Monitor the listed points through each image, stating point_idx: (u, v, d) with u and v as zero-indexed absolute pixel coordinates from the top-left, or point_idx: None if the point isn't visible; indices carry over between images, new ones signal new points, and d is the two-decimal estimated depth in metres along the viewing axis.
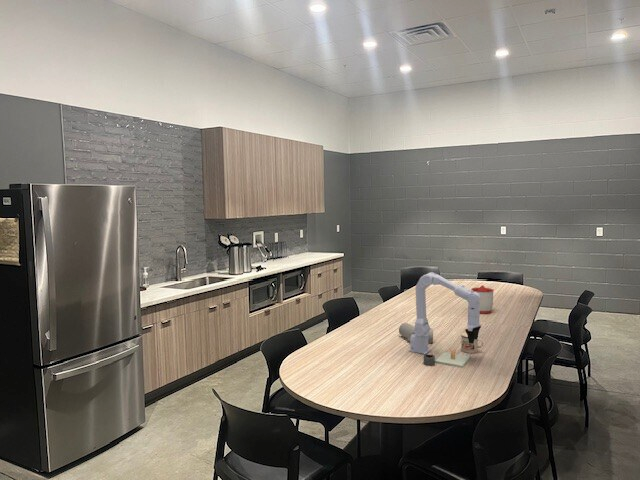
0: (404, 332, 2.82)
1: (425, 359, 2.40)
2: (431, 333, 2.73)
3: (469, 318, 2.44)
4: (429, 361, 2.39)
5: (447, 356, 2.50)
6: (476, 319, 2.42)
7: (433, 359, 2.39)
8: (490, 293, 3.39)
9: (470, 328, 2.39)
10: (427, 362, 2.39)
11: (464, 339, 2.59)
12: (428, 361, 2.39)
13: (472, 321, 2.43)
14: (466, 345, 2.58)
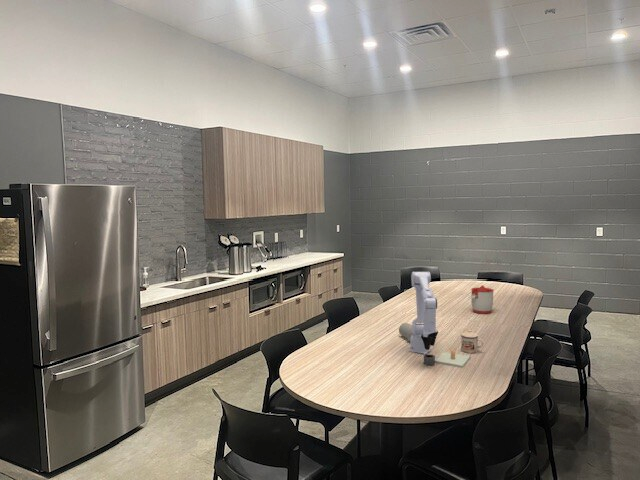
0: (404, 332, 2.82)
1: (425, 359, 2.40)
2: None
3: (425, 324, 2.39)
4: (429, 361, 2.39)
5: (447, 356, 2.50)
6: (432, 325, 2.37)
7: (433, 359, 2.39)
8: (490, 293, 3.39)
9: (425, 334, 2.34)
10: (427, 362, 2.39)
11: (464, 339, 2.59)
12: (428, 361, 2.39)
13: (428, 327, 2.38)
14: (466, 345, 2.58)
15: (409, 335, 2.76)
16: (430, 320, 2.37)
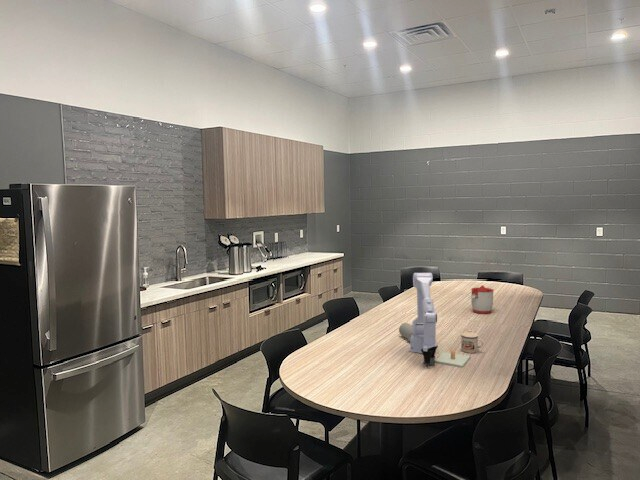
0: (404, 332, 2.82)
1: None
2: None
3: (425, 338, 2.39)
4: None
5: (447, 356, 2.50)
6: (432, 339, 2.38)
7: (433, 359, 2.39)
8: (490, 293, 3.39)
9: (425, 348, 2.35)
10: None
11: (464, 339, 2.59)
12: None
13: (427, 341, 2.38)
14: (466, 345, 2.58)
15: (409, 335, 2.76)
16: (430, 334, 2.38)
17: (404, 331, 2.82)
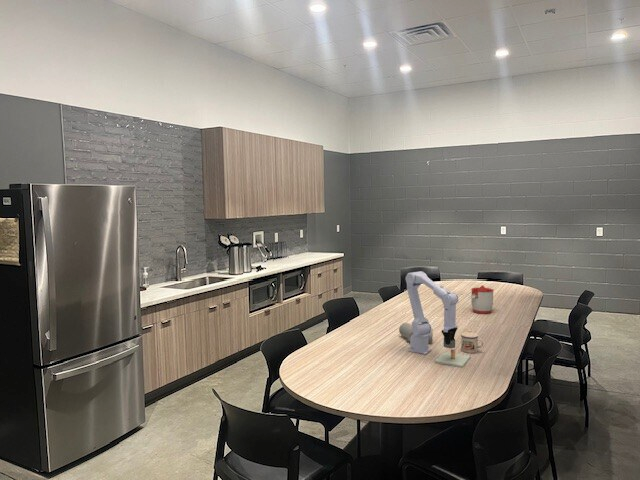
0: (404, 332, 2.82)
1: None
2: (430, 333, 2.73)
3: (445, 319, 2.43)
4: None
5: (447, 356, 2.50)
6: (452, 320, 2.41)
7: (453, 341, 2.43)
8: (490, 293, 3.39)
9: (445, 329, 2.38)
10: (447, 344, 2.43)
11: (464, 339, 2.59)
12: None
13: (448, 322, 2.41)
14: (466, 345, 2.58)
15: (409, 335, 2.76)
16: (453, 315, 2.41)
17: (404, 331, 2.82)
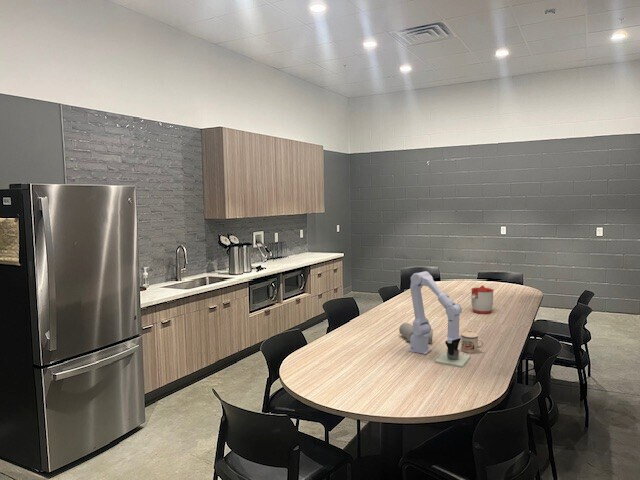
0: (404, 332, 2.82)
1: None
2: (430, 333, 2.73)
3: (449, 330, 2.44)
4: None
5: None
6: (456, 331, 2.42)
7: (457, 352, 2.44)
8: (490, 293, 3.39)
9: (449, 340, 2.39)
10: (451, 355, 2.44)
11: (464, 339, 2.59)
12: None
13: (451, 333, 2.43)
14: (466, 345, 2.58)
15: (408, 335, 2.76)
16: (457, 326, 2.43)
17: (404, 331, 2.82)
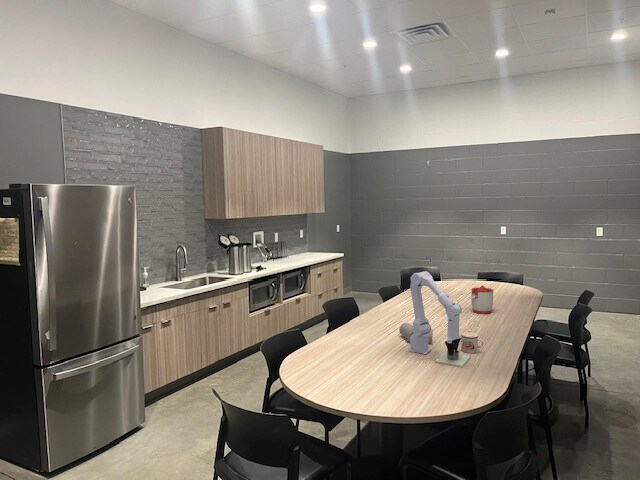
0: (404, 332, 2.83)
1: None
2: (430, 333, 2.73)
3: (449, 330, 2.44)
4: (453, 356, 2.44)
5: None
6: (456, 331, 2.42)
7: (457, 354, 2.44)
8: (490, 293, 3.39)
9: (449, 340, 2.39)
10: (451, 357, 2.44)
11: (464, 339, 2.59)
12: (452, 356, 2.44)
13: (451, 333, 2.43)
14: (466, 345, 2.58)
15: (408, 335, 2.76)
16: (457, 326, 2.43)
17: (404, 331, 2.83)
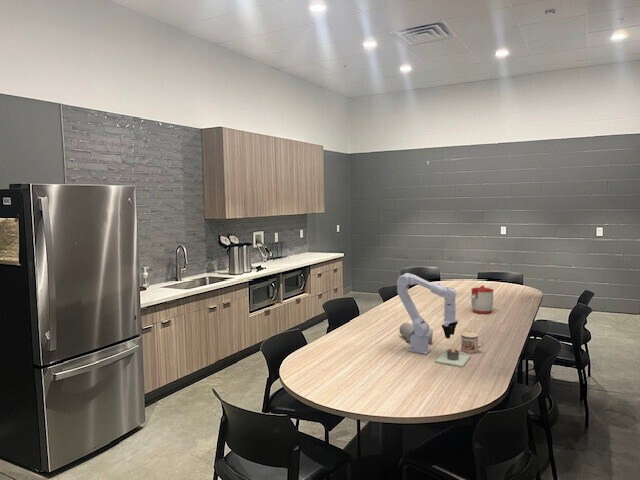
0: (404, 332, 2.83)
1: (449, 354, 2.45)
2: (430, 333, 2.73)
3: (445, 314, 2.51)
4: (453, 356, 2.44)
5: None
6: (452, 315, 2.50)
7: (457, 354, 2.44)
8: (490, 293, 3.39)
9: (446, 323, 2.47)
10: (451, 357, 2.44)
11: (464, 339, 2.59)
12: (452, 356, 2.44)
13: (448, 317, 2.50)
14: (466, 345, 2.58)
15: (408, 335, 2.76)
16: (455, 310, 2.51)
17: (404, 331, 2.83)
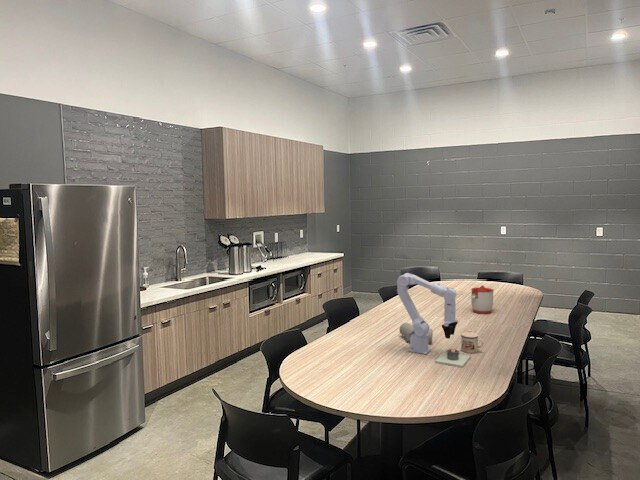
0: (404, 332, 2.83)
1: (449, 354, 2.45)
2: (429, 334, 2.72)
3: (445, 314, 2.51)
4: (453, 356, 2.44)
5: None
6: (452, 315, 2.50)
7: (457, 354, 2.44)
8: (490, 293, 3.39)
9: (446, 323, 2.47)
10: (451, 357, 2.44)
11: (464, 339, 2.59)
12: (452, 356, 2.44)
13: (448, 317, 2.50)
14: (466, 345, 2.58)
15: (408, 335, 2.77)
16: (455, 310, 2.51)
17: (404, 331, 2.83)
